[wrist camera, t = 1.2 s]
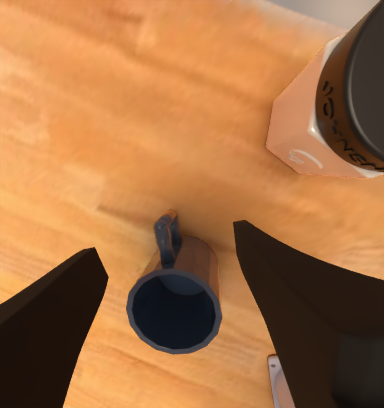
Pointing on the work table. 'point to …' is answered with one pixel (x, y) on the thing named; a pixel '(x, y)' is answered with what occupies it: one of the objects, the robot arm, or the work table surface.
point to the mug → (177, 292)
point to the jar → (336, 107)
